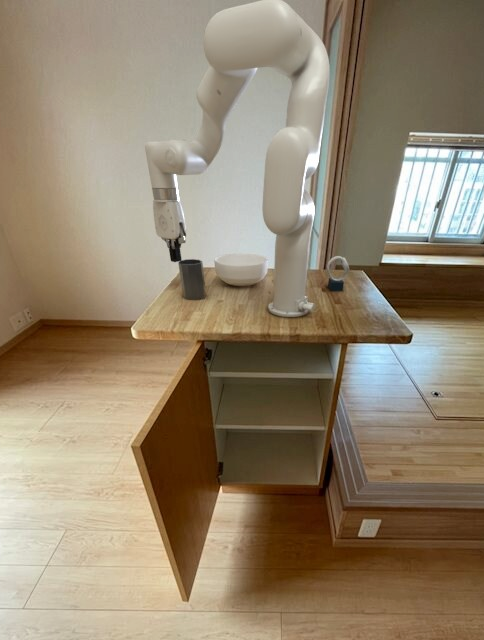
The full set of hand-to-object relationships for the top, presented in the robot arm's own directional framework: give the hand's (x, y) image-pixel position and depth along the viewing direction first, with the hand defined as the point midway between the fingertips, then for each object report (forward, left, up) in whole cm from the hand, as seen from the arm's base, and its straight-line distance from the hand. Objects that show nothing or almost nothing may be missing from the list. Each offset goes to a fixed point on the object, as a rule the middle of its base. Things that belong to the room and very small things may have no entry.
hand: (176, 261), depth 103 cm
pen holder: (-7, 0, -10) cm, 12 cm away
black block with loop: (-40, -39, -10) cm, 57 cm away
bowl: (-9, -22, -10) cm, 26 cm away
